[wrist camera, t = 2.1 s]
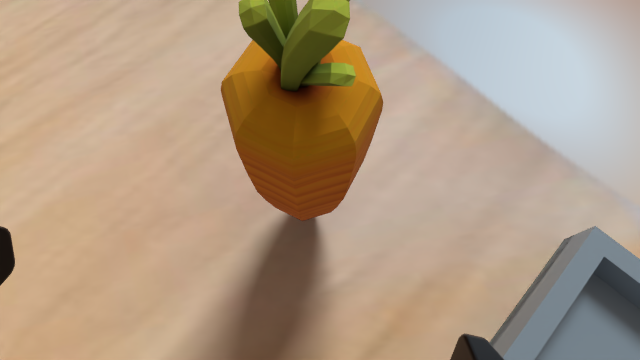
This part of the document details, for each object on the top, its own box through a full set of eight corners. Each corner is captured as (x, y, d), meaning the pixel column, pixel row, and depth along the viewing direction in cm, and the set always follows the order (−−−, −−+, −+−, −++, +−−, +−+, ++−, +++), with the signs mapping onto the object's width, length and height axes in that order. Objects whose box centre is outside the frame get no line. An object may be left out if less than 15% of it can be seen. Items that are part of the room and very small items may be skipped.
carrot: (266, 160, 23) (193, -134, 9) (355, 167, 23) (422, -119, 9) (254, 248, 21) (134, 47, 7) (350, 256, 21) (426, 70, 7)
